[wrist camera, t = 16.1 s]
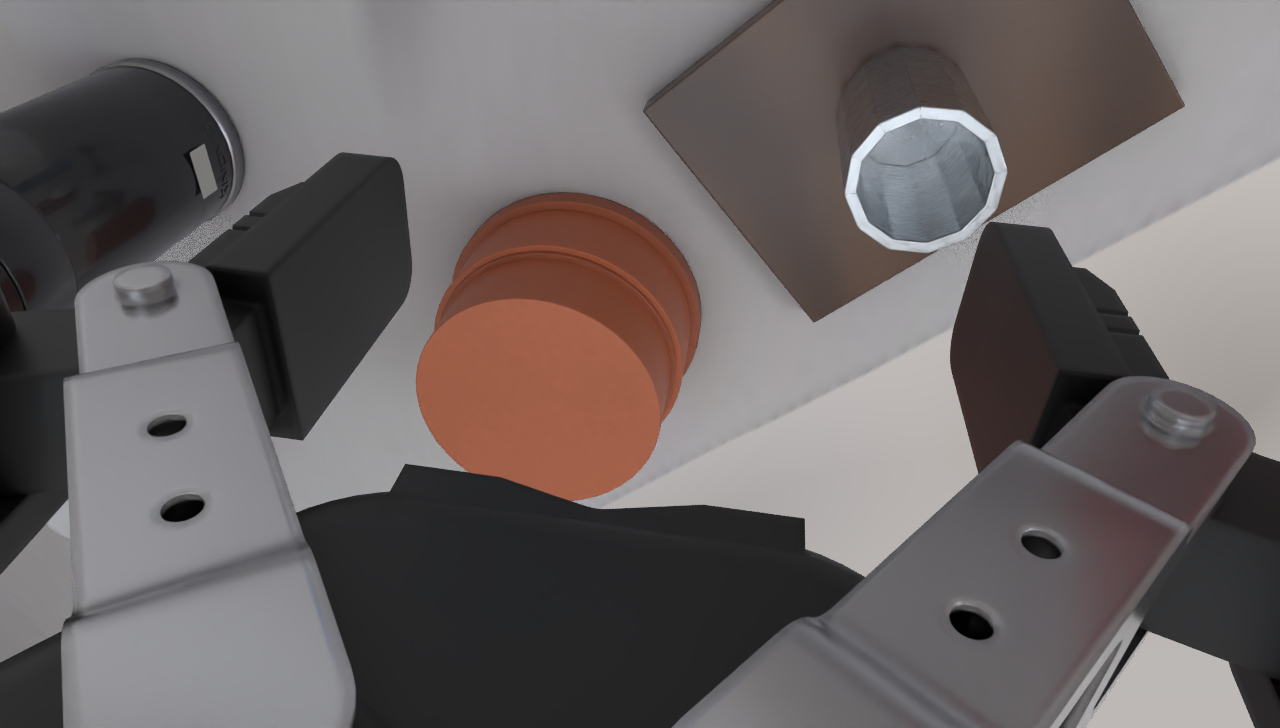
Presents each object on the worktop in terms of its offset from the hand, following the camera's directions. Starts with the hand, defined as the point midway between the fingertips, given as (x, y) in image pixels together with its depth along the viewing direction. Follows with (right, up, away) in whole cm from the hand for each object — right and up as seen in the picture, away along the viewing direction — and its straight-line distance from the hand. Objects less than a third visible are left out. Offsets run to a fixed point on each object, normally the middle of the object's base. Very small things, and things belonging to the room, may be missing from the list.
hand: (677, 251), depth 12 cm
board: (+12, +11, +31) cm, 35 cm away
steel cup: (+12, +10, +30) cm, 34 cm away
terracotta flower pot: (-4, +2, +41) cm, 41 cm away
